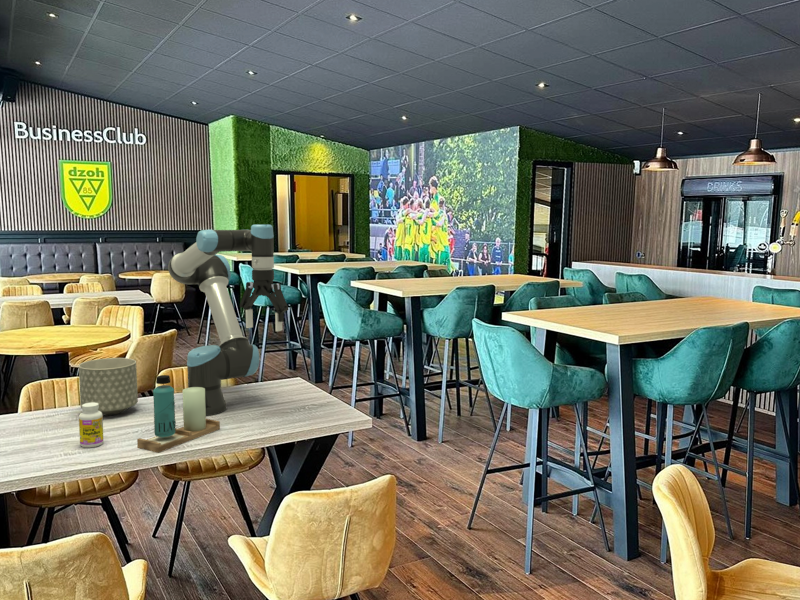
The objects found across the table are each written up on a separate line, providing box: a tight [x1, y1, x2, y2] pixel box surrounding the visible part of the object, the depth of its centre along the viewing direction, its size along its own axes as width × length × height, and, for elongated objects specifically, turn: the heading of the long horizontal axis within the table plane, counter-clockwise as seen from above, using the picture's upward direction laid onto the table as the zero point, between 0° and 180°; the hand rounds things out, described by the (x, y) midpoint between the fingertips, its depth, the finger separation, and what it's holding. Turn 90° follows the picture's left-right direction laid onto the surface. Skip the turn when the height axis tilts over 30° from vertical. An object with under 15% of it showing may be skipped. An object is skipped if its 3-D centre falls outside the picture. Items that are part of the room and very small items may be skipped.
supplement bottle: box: [78, 402, 104, 448], centre depth 202 cm, size 7×7×13 cm
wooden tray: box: [136, 418, 221, 453], centre depth 209 cm, size 9×26×3 cm, turn 152°
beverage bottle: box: [152, 374, 177, 437], centre depth 203 cm, size 6×7×20 cm
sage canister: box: [182, 387, 207, 432], centre depth 214 cm, size 7×7×13 cm
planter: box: [78, 357, 139, 416], centre depth 236 cm, size 19×19×18 cm
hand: (264, 329), depth 229 cm, fingers open, 13 cm apart
